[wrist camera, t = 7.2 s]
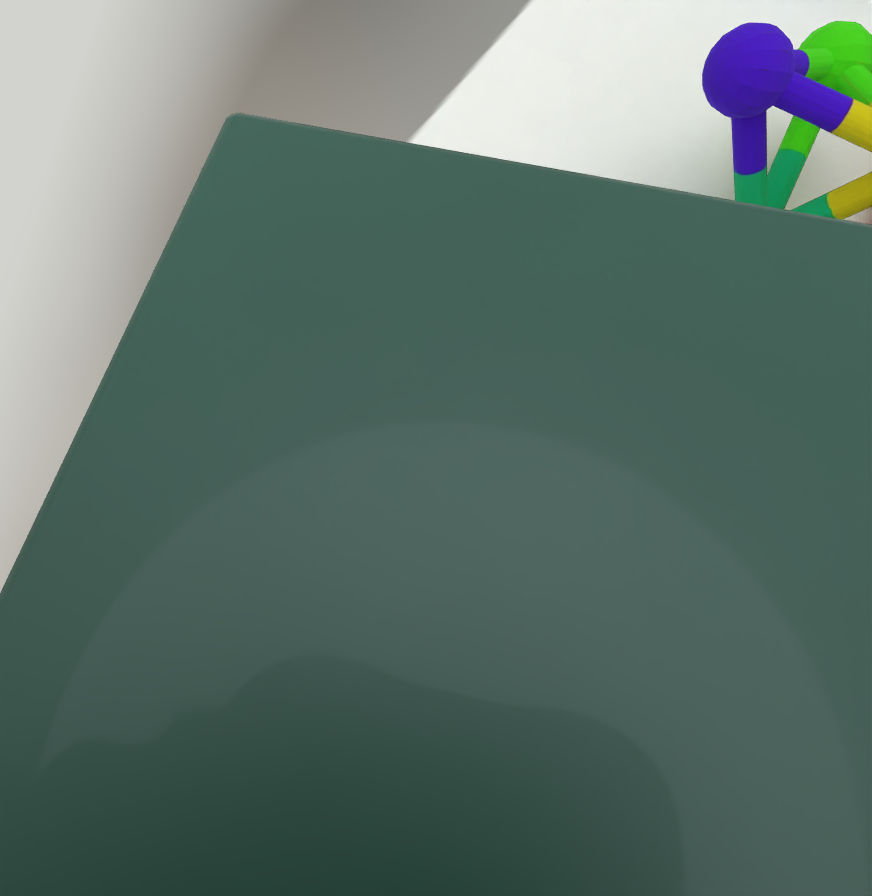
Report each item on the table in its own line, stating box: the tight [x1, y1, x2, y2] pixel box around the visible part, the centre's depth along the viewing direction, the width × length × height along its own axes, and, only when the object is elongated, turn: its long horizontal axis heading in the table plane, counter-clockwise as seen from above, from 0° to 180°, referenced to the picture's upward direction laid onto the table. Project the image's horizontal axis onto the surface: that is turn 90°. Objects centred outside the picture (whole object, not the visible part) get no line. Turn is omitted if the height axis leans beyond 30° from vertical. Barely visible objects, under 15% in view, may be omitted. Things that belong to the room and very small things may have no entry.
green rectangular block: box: [0, 113, 872, 896], centre depth 8 cm, size 4×6×11 cm, turn 167°
